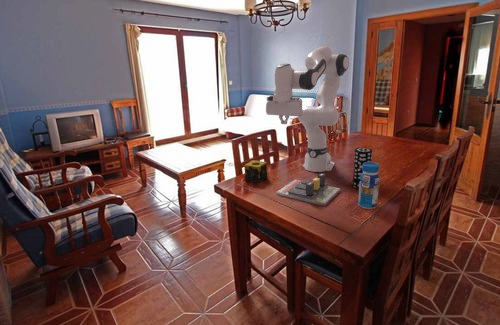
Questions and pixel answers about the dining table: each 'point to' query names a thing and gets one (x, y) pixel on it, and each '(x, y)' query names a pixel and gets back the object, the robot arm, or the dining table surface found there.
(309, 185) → the breaker
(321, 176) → the breaker
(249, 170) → the candle
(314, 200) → the panel
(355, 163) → the white-spotted black cylinder
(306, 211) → the dining table surface
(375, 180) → the blue lidded canister
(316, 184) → the breaker
